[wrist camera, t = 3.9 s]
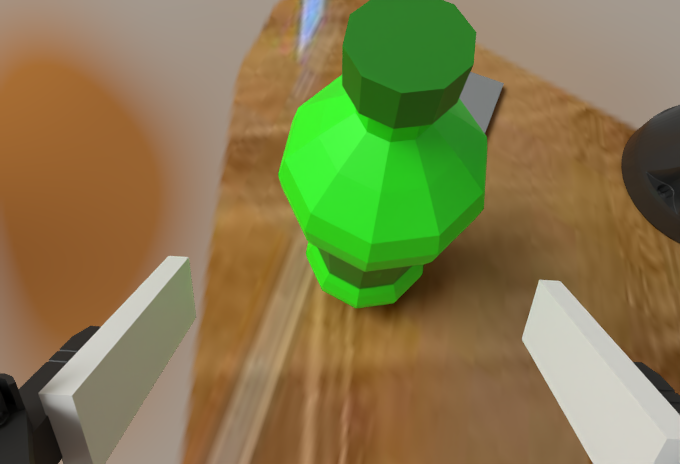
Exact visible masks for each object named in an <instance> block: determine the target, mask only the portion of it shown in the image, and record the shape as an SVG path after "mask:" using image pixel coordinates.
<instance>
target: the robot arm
mask: <svg viewBox="0 0 680 464" xmlns="http://www.w3.org/2000/svg"><path fill="white" fill-rule="evenodd" d="M622 174H623V179H624V183H625V186H626V188H627V191H628V193H629V195H630V197H631V199H632V200H633V202H634V204H635V205H636V207H637V208H638V209H639V211H640V212H641V213H642V214H643V215H644V216H645V218H646V219H647V220H648V221H649V222H650V223H651V224H653V225H654V226H655V227H656V228H657V229H659V230H660V231H661V232H662V233H664V234H665V235H667V236H668V237H670V238H672V239H673V240H675V241H677V242H679V243H680V105H678V106H675V107H672V108H669V109H667V110H664V111H662V112H661V113H659V114H657V115H656V116H654V117H653V118H651V119H650V120H649V121H648V122H647V123H645V124H644V125H643V126H642V127H640V128H639V129H638V130H637V131H636V132H635V133H634V134H633V135H632V136H631V137H630V139H629V140H628V142H627V144H626V146H625V148H624V151H623V156H622ZM195 318H196V312H195V303H194V296H193V287H192V279H191V272H190V263H189V257H179V256H168V257H167V258H166V259H165V260H164V261H163V262H162V263H161V265H160V266H159V267H158V268H157V269H156V270H155V271H154V272H153V273H152V274H151V275H150V276H149V277H148V278H147V279H146V280H145V281H144V282H143V284H141V286H140V287H139V288H138V289H137V290H136V291H135V292H134V293H133V294H132V295H131V296H130V297H129V298H128V299H127V300H126V301H125V302H124V303H123V305H122V306H121V307H120V308H119V309H118V310H117V311H116V312H115V313H114V314H113V315H112V316H111V317H110V318H109V319H108V320H107V321H106V322H105V324H104V325H103V326H102V327H99V326H89V327H88V328H86V329H84V330H83V331H81V332H79V333H78V334H76V335H74V336H73V337H71V338H70V340H68V341H67V343H65V344H64V346H62V347H61V348H60V351H57V352H56V353H55V354H54V355H53V356H52V357H51V358H50V359H49V362H46V363H45V364H44V365H43V366H42V367H41V368H40V369H39V370H38V371H37V372H36V373H35V374H34V375H33V376H32V377H31V378H30V379H29V380H28V381H27V382H26V383H25V384H24V385H23V386H22V387H21V388H20V389H18V388H17V385H16V382H15V380H14V378H13V377H12V376H10V375H7V374H0V464H58V463H59V462H60V460H61V459H62V461H63V464H105V463H106V461H107V460H108V458H109V457H110V455H111V453H112V452H113V450H114V448H115V447H116V445H117V444H118V442H119V440H120V439H121V437H122V436H123V434H124V432H125V431H126V429H127V427H128V426H129V424H130V423H131V421H132V420H133V418H134V416H135V415H136V413H137V411H138V410H139V408H140V407H141V405H142V403H143V401H144V400H145V399H146V397H147V395H148V394H149V392H150V391H151V389H152V387H153V386H154V384H155V383H156V381H157V379H158V378H159V376H160V375H161V373H162V371H163V370H164V368H165V366H166V365H167V363H168V362H169V360H170V358H171V357H172V355H173V354H174V352H175V350H176V349H177V347H178V345H179V344H180V342H181V341H182V339H183V338H184V336H185V334H186V333H187V331H188V329H189V328H190V326H191V325H192V323H193V321H194V320H195ZM522 341H523V342H524V344H525V346H526V347H527V349H528V351H529V353H530V354H531V356H532V358H533V360H534V361H535V363H536V365H537V367H538V368H539V370H540V372H541V374H542V375H543V377H544V379H545V381H546V382H547V384H548V386H549V388H550V389H551V391H552V393H553V395H554V396H555V398H556V400H557V401H558V403H559V405H560V407H561V408H562V410H563V412H564V414H565V415H566V417H567V419H568V421H569V422H570V424H571V426H572V428H573V429H574V431H575V433H576V435H577V436H578V438H579V440H580V442H581V443H582V445H583V447H584V449H585V450H586V452H587V454H588V455H589V457H590V459H591V461H592V462H593V464H680V396H679V395H678V394H677V393H675V392H674V391H675V390H674V389H673V388H672V387H671V386H670V385H669V384H668V383H667V382H666V381H665V380H664V379H663V378H662V377H661V376H660V375H659V374H657V373H656V372H655V371H653V370H652V369H650V368H649V367H647V366H646V365H645V364H643V363H642V362H632V361H631V360H630V359H629V357H628V356H627V355H626V354H625V353H624V352H623V351H622V350H621V348H620V347H619V346H618V345H617V344H616V343H615V342H614V341H613V340H612V338H611V337H610V336H609V335H608V334H607V333H606V332H605V331H604V329H603V328H602V327H601V326H600V325H599V324H598V323H597V322H596V320H595V319H594V318H593V317H592V316H591V315H590V314H589V313H588V312H587V310H586V309H585V308H584V307H583V306H582V305H581V304H580V303H579V301H578V300H577V299H576V298H575V297H574V296H573V295H572V294H571V292H570V291H569V290H568V289H567V288H566V287H565V286H564V285H563V284H562V282H561V281H552V280H539V283H538V286H537V290H536V293H535V296H534V300H533V303H532V306H531V310H530V313H529V316H528V320H527V323H526V326H525V330H524V333H523V336H522Z"/></svg>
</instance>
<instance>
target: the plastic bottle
mask: <svg viewBox="0 0 680 464" xmlns="http://www.w3.org/2000/svg"><path fill="white" fill-rule="evenodd" d="M475 40H476V32H475V30H474V29H473V28H472V26H471V25H470V24H469V23H468V21H467V20H466V19H465V17H464V16H463V15H462V14H461V12H460V11H459V10H458V9H457V7H456V6H455V5H454V4H451V3H449V2H446V1H444V0H370V1H368V2H367V3H366V4H364V5H363V6H361V7H360V8H359V9H357V10H356V11H354V12H353V13H352V14H350V17H349V21H348V25H347V29H346V34H345V38H344V42H343V59H342V75H341V76H340V77H338V78H337V79H336V80H334V81H333V82H332V83H330V84H329V85H328V86H326V87H325V88H324V89H322V90H321V91H320V92H319V93H317V94H316V95H315V96H313V97H312V98H311V99H309V100H308V101H307V102H305V103H304V104H303V105H301V106H300V107H299V108H298V110H297V112H296V114H295V116H294V119H293V121H292V125H291V129H290V133H289V136H288V140H287V144H286V147H285V151H284V155H283V158H282V162H281V166H280V169H279V173H278V176H279V179H280V183H281V186H282V188H283V191H284V193H285V195H286V197H287V199H288V201H289V203H290V205H291V207H292V210H293V212H294V214H295V216H296V218H297V220H298V222H299V224H300V226H301V228H302V231H303V233H304V235H305V237H306V239H307V240H308V241H309V242H308V246H307V250H306V256H307V259H308V261H309V263H310V265H311V267H312V269H313V271H314V274H315V276H316V278H317V280H318V282H319V284H320V286H321V289H322V290H323V291H325V292H326V293H328V294H330V295H332V296H334V297H336V298H337V299H339V300H341V301H343V302H345V303H347V304H349V305H350V306H352V307H354V308H363V307H370V306H378V305H386V304H393V303H395V302H396V301H397V300H398V299H399V298H400V297H401V296H402V295H403V294H404V293H405V292H406V291H407V290H408V289H409V288H410V287H411V286H412V285H413V284H414V283H415V282H416V281H417V280H418V279H419V278H420V276H421V275H422V273H423V265H424V264H427V263H430V262H432V261H433V260H434V259H435V258H436V257H437V256H438V255H439V254H440V253H441V252H442V251H443V250H444V249H445V248H446V247H447V246H448V245H449V244H450V243H451V242H452V241H453V240H455V239H456V238H457V237H458V236H459V235H460V234H461V233H462V232H463V231H464V230H465V229H466V228H467V227H468V226H469V225H470V224H471V223H472V222H473V221H474V220H475V219H476V217H477V216H478V215H479V214H480V213H481V212H482V210H483V209H484V196H485V180H486V164H487V136H486V135H485V133H484V132H483V131H482V129H481V128H480V126H479V125H478V124H477V122H476V121H475V119H474V118H473V117H472V115H471V114H470V112H469V111H468V110H467V108H466V107H465V105H464V104H463V103H462V101H461V100H460V98H459V97H460V95H461V92H462V90H463V88H464V85H465V83H466V81H467V78H468V76H469V74H470V71H471V69H472V67H473V64H474V52H475Z"/></svg>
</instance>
